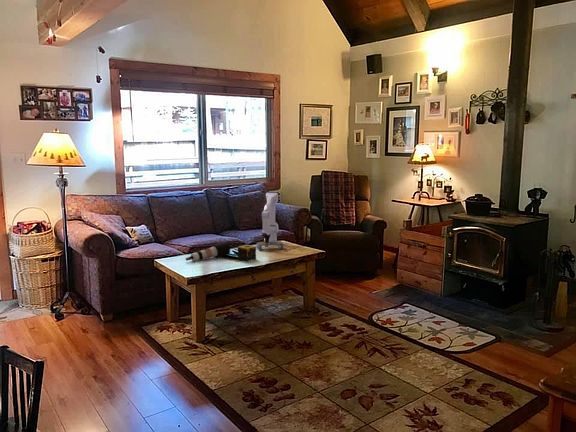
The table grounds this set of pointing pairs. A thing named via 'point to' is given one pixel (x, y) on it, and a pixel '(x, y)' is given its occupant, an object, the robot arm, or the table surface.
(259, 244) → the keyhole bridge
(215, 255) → the white black cylinder
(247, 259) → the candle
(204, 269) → the table surface
